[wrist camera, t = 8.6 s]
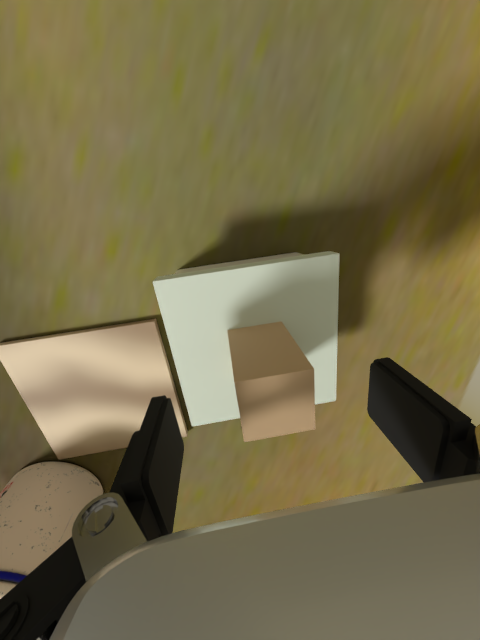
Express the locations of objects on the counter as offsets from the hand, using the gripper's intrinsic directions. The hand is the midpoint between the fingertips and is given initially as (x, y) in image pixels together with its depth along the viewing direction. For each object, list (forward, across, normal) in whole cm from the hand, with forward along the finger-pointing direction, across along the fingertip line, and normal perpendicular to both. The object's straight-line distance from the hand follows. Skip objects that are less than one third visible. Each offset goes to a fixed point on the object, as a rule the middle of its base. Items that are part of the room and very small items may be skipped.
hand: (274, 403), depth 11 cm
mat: (+10, +13, +4) cm, 17 cm away
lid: (+5, 0, -1) cm, 5 cm away
